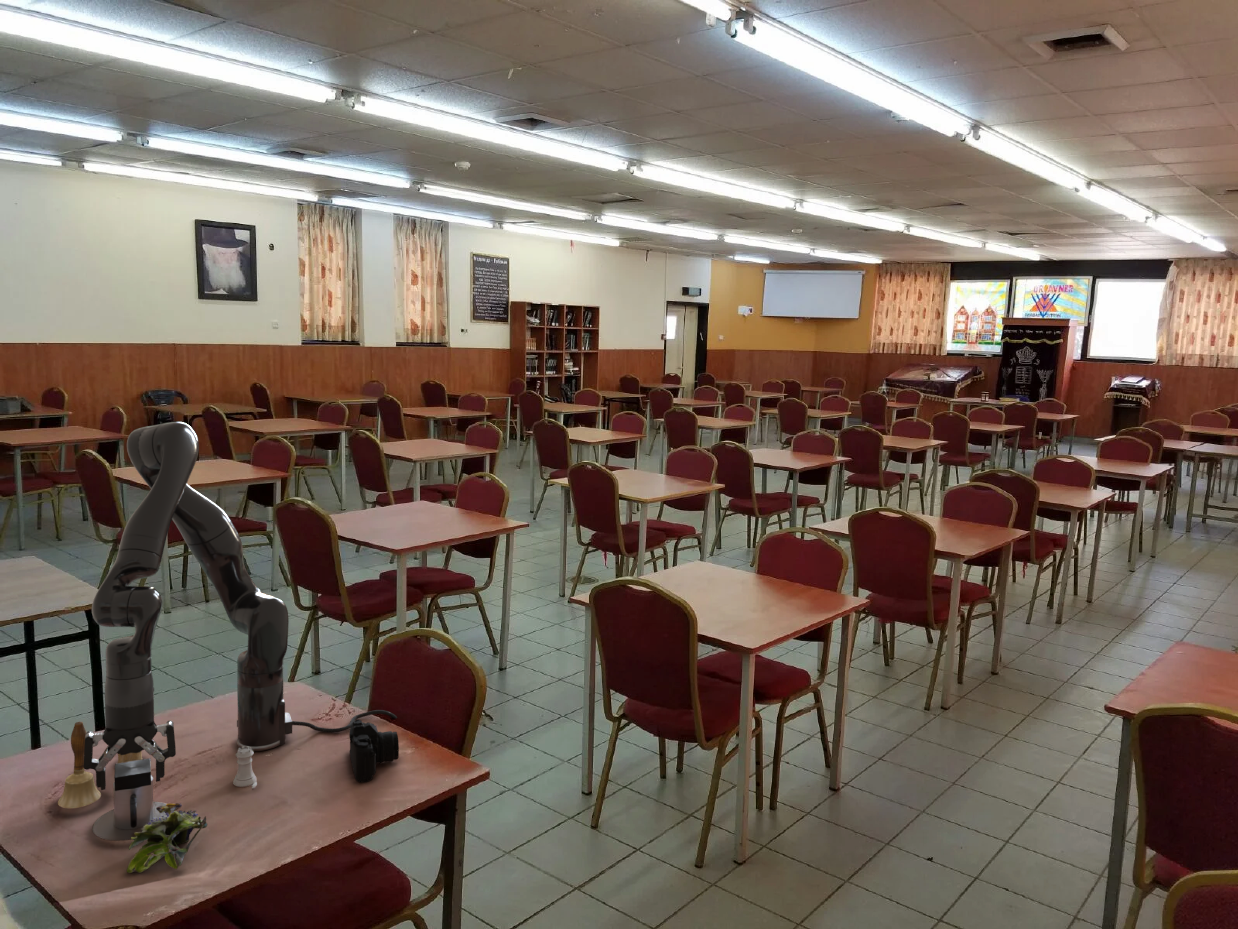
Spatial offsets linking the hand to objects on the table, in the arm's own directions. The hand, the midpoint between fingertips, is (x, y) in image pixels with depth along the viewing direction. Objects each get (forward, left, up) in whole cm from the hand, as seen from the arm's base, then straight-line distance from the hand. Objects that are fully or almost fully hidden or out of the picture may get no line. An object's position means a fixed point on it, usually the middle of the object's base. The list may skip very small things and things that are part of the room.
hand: (131, 783), depth 157 cm
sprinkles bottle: (+1, -26, -8) cm, 27 cm away
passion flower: (-6, +14, -8) cm, 18 cm away
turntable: (0, 0, -8) cm, 8 cm away
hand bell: (+9, -12, -8) cm, 17 cm away
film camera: (-44, -7, -8) cm, 46 cm away
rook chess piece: (-19, -7, -8) cm, 22 cm away
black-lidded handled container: (0, +1, -7) cm, 7 cm away
